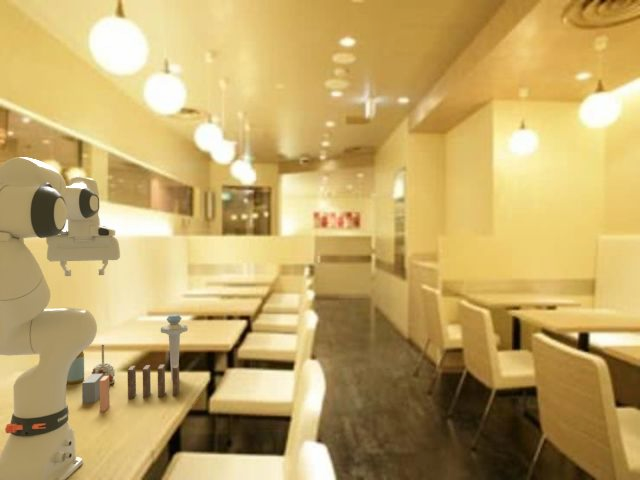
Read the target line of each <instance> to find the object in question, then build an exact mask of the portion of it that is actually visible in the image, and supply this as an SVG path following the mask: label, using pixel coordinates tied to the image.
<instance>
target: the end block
mask: <svg viewBox="0 0 640 480" xmlns="http://www.w3.org/2000/svg"><path fill="white" fill-rule="evenodd" d="M102 378H103V374H92V373H91V374H90V375H89V376H88V377H86V379H84V380H83V381H82V382H81V385H82V386H81V391H82V392H81V393H82V394H81V395H82V396H81V397H82V400H81V401H82V404H96V402H97V401H99V400H100V380H101V379H102Z"/></svg>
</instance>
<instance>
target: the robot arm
mask: <svg viewBox="0 0 640 480" xmlns="http://www.w3.org/2000/svg"><path fill="white" fill-rule="evenodd" d="M99 210H100V194H99V187H98V182H97V181H96V180H94V179H93V178H91V177H85V176H74V177H72V178H70V179H69V181H68V185H67V183H66V180H65V179H64V177H63V175H62V174H61V173H60V171H58V170H57V169H55V168H53V167H52V166H50V165H48V164H47V163H45V162H43V161H40V160H37V159H33V158H30V157H22V156H21V157H18V156H17V157H13V158H12V157H11V158H10V159H8V160H6V161H5V162H3V163H2V164H1V165H0V356H7V357H8V356H9V357H10V356H28V355H29V356H30V355H39V361H38V364H37V365H35V366H33V367H32V368H30V369H27V370H26V371H24V372H23V373H21V374H20V375H19V376H18V377H17V378H16V379H15V381H14V383H13V413H12V414H11V415H12V416H11V419H10V423H7V424H6V426H5V428H4V429H5V433H6V434H9V435H8V438H7V440H6V442H5V445H4V446H3V449H2V451H1V454H0V480H66V479H67V478H68V477H70V476H71V475H72V474H73V473H74V472H75V471H76V470H78V469H79V467H81V466H82V465H83V463H84V461H83V458H82V457H80V456H77V444H76V443H77V442H76V432H75V430H74V428H72V427H71V426H70V424H69V423H68V421H69V415H70V413H69V407H68V404H67V385H68V384H67V376H68V372H69V369H70V367H71V365H72V363H73V361H74V360H75V358H76V357H77V356H78V355H79V354H80V353H81V352H82V351H83V352H84V351H85V350H86V349H88V348H89V347H90V346H91V344H93V342H94V341H95V338H96V336H97V331H98V325H97V321H96V318H95V317H94V315H93V314H92V313H91V312H90V311H89V310H87V309H81V308H74V307H52V308H51V307H49V308H47V307H48V305H49V303H50V301H51V290H50V287H49V285H48V283H47V280H46V278H45V276H44V273H43V271H42V268H41V267H40V264H39V263H38V261H37V260H36V257H35V256H34V254H33V253H32V252H31V250H30V248H29V247H28V246H27V245H26V244H25V240H24V239H29V238H30V239H31V238H39V239H45V242H46V245H47V252H46V259H47V260H48V261H49V262H60V264H59V265H60V267H61V268H62V270H63V271H64V277H72V269H68V268H67V266H66V265H67V264H68V262H81V261H82V262H83V261H84V262H85V261H89V262H90V261H91V262H93V261H102V265H103V266H102V268H99V269H98V276H104V275H105V270H106V268H107V266H108V265H109V261H118V260H119V259H120V258H121V250H120V249H121V248H120V244H119V240H118V239H117V238H116V237H115V236H116V230H115V229H113V228H110V227H107V226H104V225H103V226H101V221H100V217H99ZM66 223H67V230H64V228H65V226H66Z"/></svg>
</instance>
